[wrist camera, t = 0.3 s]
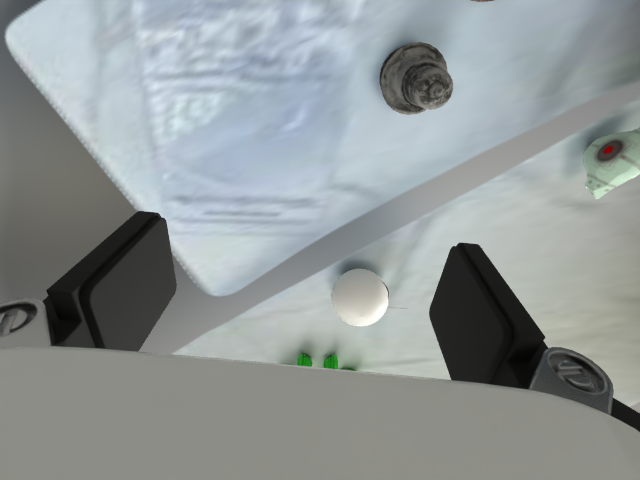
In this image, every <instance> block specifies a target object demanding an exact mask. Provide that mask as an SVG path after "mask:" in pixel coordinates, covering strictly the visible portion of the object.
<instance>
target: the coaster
mask: <svg viewBox="0 0 640 480" xmlns="http://www.w3.org/2000/svg"><path fill="white" fill-rule="evenodd" d="M472 1H477V2H486V1H493V0H472Z"/></svg>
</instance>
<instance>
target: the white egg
mask: <svg viewBox="0 0 640 480" xmlns="http://www.w3.org/2000/svg"><path fill="white" fill-rule="evenodd" d="M331 298H332V304H333V308H334V310H335V312H336V313H337V315H338V316H339V317H340V318H341V319H342V320H343V321H344V322H346V323H348V324H351V325H355V326H366V325H370V324H373V323H374V322H376V321H378V320H379V319H380V318H381V317H382V316H383V314H384V312H385V311H386V308H387V306H388V299H389V292H388V289H387V287H386V285H385V284H384V282H383V280H382V279H381V278H380V277H379V276H378V275H376V274H375V273H373V272H371V271H369V270H366V269H353V270H350V271H347V272H346V273H344V274H343V275H341V276H340V277H339V278H338V280H337V281H336V282H335V284H334V287H333V290H332V294H331ZM389 308H395V307H389ZM402 309H407V308H402Z"/></svg>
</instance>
